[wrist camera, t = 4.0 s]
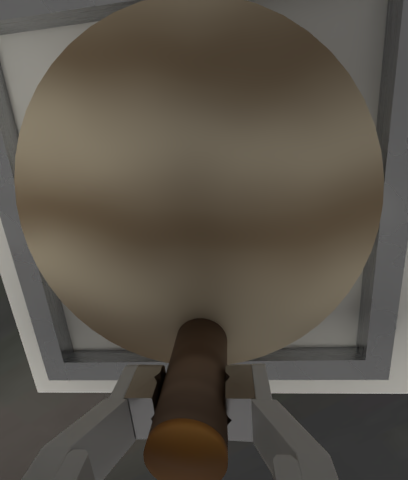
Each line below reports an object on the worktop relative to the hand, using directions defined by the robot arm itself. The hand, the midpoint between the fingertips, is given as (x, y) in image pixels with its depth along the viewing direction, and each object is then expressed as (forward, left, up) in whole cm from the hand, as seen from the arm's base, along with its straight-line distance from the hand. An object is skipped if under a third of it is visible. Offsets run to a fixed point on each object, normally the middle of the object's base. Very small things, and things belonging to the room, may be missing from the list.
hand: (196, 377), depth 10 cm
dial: (-6, 0, -4) cm, 7 cm away
